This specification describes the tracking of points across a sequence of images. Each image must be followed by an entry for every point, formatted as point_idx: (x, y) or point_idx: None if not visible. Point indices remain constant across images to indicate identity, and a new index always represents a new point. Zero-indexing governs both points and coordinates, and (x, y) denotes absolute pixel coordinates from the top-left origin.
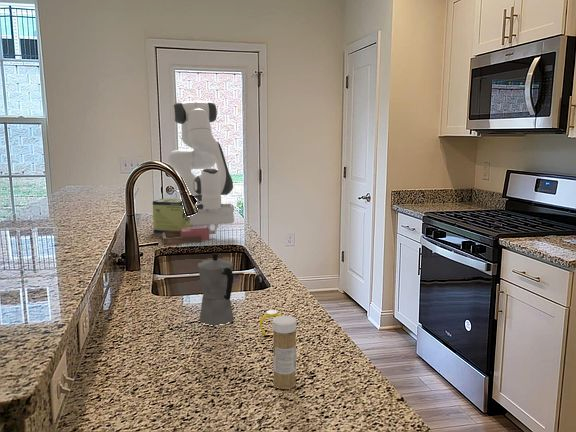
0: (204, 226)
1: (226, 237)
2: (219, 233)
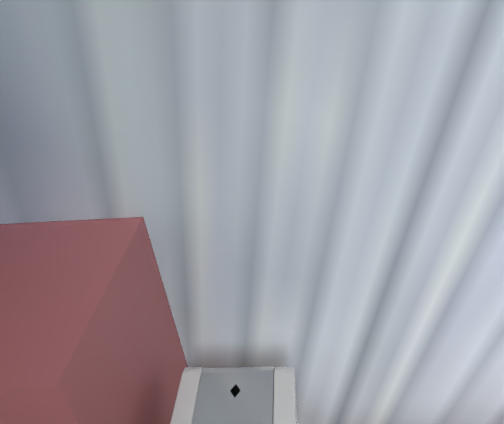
0: (19, 407)
1: (447, 365)
2: (447, 34)
